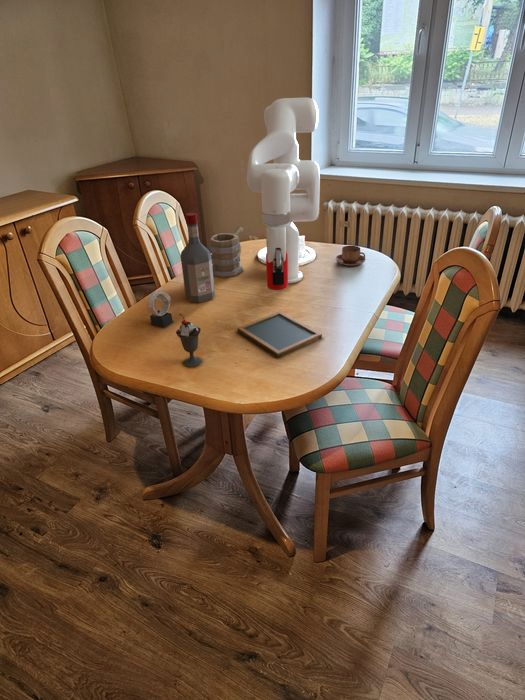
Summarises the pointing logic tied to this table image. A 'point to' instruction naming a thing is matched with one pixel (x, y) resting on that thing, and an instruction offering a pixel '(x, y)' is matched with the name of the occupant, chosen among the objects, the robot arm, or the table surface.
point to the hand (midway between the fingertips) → (277, 279)
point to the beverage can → (269, 275)
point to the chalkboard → (279, 334)
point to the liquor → (196, 265)
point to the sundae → (189, 341)
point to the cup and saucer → (351, 256)
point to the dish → (304, 253)
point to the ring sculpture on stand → (159, 316)
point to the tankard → (226, 254)
